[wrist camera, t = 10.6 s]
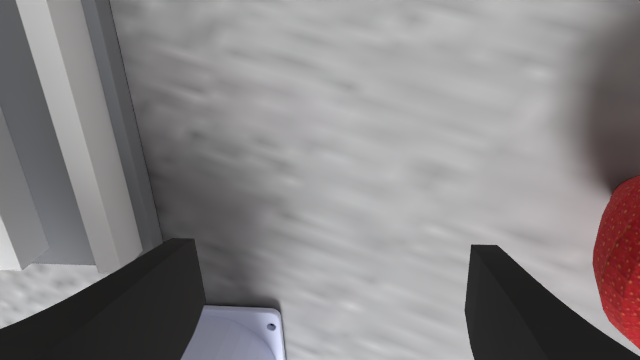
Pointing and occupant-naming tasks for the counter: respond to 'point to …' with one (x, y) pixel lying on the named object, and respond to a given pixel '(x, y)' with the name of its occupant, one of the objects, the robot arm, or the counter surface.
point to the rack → (69, 141)
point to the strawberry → (620, 259)
